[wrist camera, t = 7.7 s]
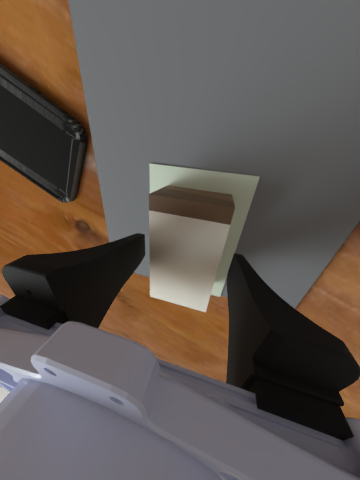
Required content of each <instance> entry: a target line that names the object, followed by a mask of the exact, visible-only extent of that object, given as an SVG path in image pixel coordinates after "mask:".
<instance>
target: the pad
mask: <svg viewBox="0 0 360 480" xmlns="http://www.w3.org/2000/svg"><path fill="white" fill-rule="evenodd" d="M149 169H150V193H152V192H154V191H157V190H159V189H161V188H163V187H165V186H167V185H169V186H176V187H183V188H190V189H197V190H204V191H210V192H217V193H224V194H231V195H232V197H233V201H234V205H235V210H234V214H233V217H232V221H231V224H230V228H229V232H228V235H227V239H226V242H225V246H224V249H223V253H222V256H221V260H220V263H219V267H218V270H217V274H216V277H215V281H214V285H213V288H212V292H211V295H214V296H218V297H220V296H221V293H222V290H223V287H224V284H225V281H226V278H227V273H228V270H229V267H230V264H231V261H232V258H233V255H234V253H235V251H236V248H237V244H238V241H239V238H240V235H241V232H242V229H243V226H244V223H245V220H246V217H247V214H248V211H249V208H250V205H251V202H252V199H253V196H254V193H255V190H256V187H257V184H258V181H259V178H260V177H259V176H252V175H243V174H235V173H226V172H218V171H209V170H201V169H193V168H184V167H176V166H167V165H159V164H149Z"/></svg>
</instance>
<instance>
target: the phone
mask: <svg viewBox="0 0 360 480" xmlns="http://www.w3.org/2000/svg"><path fill="white" fill-rule="evenodd" d="M86 147H87V134H86V132H85V129H84V127H83V126H82V124H81V123H80V122H79V121H77V120H76V119H75V118H73V117H72V116H71V115H69V114H68V113H67V112H66V111H64V110H63V109H62V108H60V107H59V106H57V105H56V104H55V103H54V102H53V101H51V100H50V99H49V98H47V97H46V96H45V95H43V94H41V93H40V91H38V90H37V89H36V88H34V87H33V86H31V85H29V84H28V83H26V82H25V81H23V80H22V79H21V78H19V77H18V76H17V75H15V74H14V73H13V72H11V71H10V70H9V69H7V68H6V67H5V66H3V65H2V64H1V63H0V160H1V161H2V162H4V163H5V164H7V165H8V166H10V167H11V168H12V169H14V170H15V171H17V172H18V173H20V174H21V175H23V176H24V177H26V178H27V179H29V180H30V181H31V182H33V183H34V184H36V185H37V186H39V187H40V188H42V189H43V190H45V191H46V192H47V193H49V194H50V195H52V196H53V197H55V198H56V199H58V200H59V201H61V202H64V203H66V202H70V201H73V200H75V199H76V196H77V192H78V187H79V182H80V177H81V172H82V167H83V162H84V157H85V152H86Z"/></svg>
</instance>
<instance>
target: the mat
mask: <svg viewBox="0 0 360 480" xmlns="http://www.w3.org/2000/svg"><path fill="white" fill-rule="evenodd" d="M68 2H69V8H70V13H71V19H72V25H73V31H74V37H75V43H76V49H77V55H78V60H79V66H80V72H81V78H82V84H83V90H84V96H85V102H86V108H87V113H88V119H89V125H90V131H91V137H92V143H93V149H94V155H95V161H96V166H97V172H98V178H99V184H100V190H101V196H102V202H103V208H104V214H105V219H106V225H107V231H108V237H109V243H110V242H113V241H116V240H119V239H121V238H124V237H127V236H130V235H133V234H136V233H140V234H145V256H144V258H143V260H142V262H141V263H140V265H139V266H138V267H137V269H136V270H135V271H134V272H133V273H136V274H140V275H143V276H147V277H150V254H149V194H150V169H149V164H159V165H167V166H176V167H184V168H193V169H201V170H209V171H218V172H226V173H235V174H243V175H252V176H259V177H260V178H259V181H258V184H257V187H256V190H255V193H254V196H253V199H252V202H251V205H250V208H249V211H248V214H247V217H246V220H245V223H244V226H243V229H242V232H241V235H240V238H239V241H238V244H237V248H236V251H235V253H236V254H241V255H243V256H244V257H245V258H246V260H247V261H248V262H249V264H250V265H251V266H252V268H253V269H254V270H255V271H256V273H257V274H258V275H259V276H260V277H261V278H262V279H263V281H264V282H265V283H266V284H267V285H268V286H269V287H270V288H271V289H272V290H273V291H274V292H275V293H276V294H278V295H279V296H280V297H281V298H282V299H283V300H284V301H286V302H287V303H288V304H289V305H291V306H292V307H293V308H294V309H295V308H296V306H297V305H298V304H299V302H300V301H301V300H302V298H303V297H304V296H305V294H306V293H307V292H308V290H309V289H310V288H311V286H312V285H313V283H314V282H315V281H316V279H317V278H318V277H319V275H320V274H321V273H322V271H323V270H324V269H325V267H326V266H327V265H328V263H329V262H330V261H331V259H332V258H333V256H334V255H335V254H336V252H337V251H338V250H339V248H340V247H341V246H342V244H343V243H344V242H345V240H346V239H347V238H348V236H349V235H350V234H351V232H352V231H353V229H354V228H355V227H356V225H357V224H358V223H359V221H360V0H68ZM221 296H224V297H228V296H227V278H226V281H225V284H224V287H223V290H222V293H221Z"/></svg>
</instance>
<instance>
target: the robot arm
mask: <svg viewBox="0 0 360 480" xmlns="http://www.w3.org/2000/svg"><path fill="white" fill-rule="evenodd" d="M144 256H145V234H140V233H136V234H133V235H130V236H127V237H124V238H121V239H119V240H116V241H113V242H110V243H107V244H103V245H100V246H96V247H92V248H88V249H82V250H77V251H71V252H63V253H53V254H37V255H26V256H23V257H21V258H19V259H17V260H15V261H13V262H11V263H9V264H7V265H5V266H4V267H3V270H2V273H3V276H4V278H5V280H6V281H7V283H8V284H9V286H10V287H11V289H12V290H13V292H14V293H15V295H16V296H15V297H13V298H12V299H9V298H7V297H6V296H3V295H0V387H2V388H4V389H6V390H8V391H9V392H10V393H9V394H8V395H7V396H6V397H5V399H4V400H3V401H2V402H1V403H0V480H360V420H359V419H355V418H345V416H344V414H343V412H342V410H341V408H340V406H343V405H344V402H343V400H342V398H341V396H340V394H339V391H341V390H342V389H344V388H346V387H347V386H349V385H351V384H353V383H354V382H355V381H356V380H358V378H359V376H360V367H359V365H358V363H357V362H356V360H355V359H354V357H353V356H352V354H351V353H350V351H349V350H348V348H347V347H346V345H345V344H344V342H343V341H342V340H340V339H338V338H337V337H335V336H334V335H332V334H331V333H329V332H327V331H326V330H324V329H323V328H321V327H320V326H318V325H316V324H315V323H314V322H312V321H311V320H309V319H308V318H307V317H305V316H304V315H302V314H301V313H300V312H298V311H297V310H296V309H294V308H293V307H292V306H291V305H289V304H288V303H287V302H286V301H284V300H283V299H282V298H281V297H280V296H279V295H278V294H276V293H275V292H274V291H273V290H272V289H271V288H270V287H269V286H268V285H267V284H266V283H265V282H264V281H263V279H262V278H261V277H260V276H259V275H258V274H257V273H256V271H255V270H254V269H253V268H252V266H251V265H250V264H249V262H248V261H247V260H246V258H245V257H244V256H243V255H241V254H236V253H234V255H233V258H232V261H231V264H230V267H229V270H228V273H227V296H228V308H229V345H228V365H227V380H226V383H224V382H222V381H219V380H216V379H213V378H210V377H208V376H205V375H202V374H199V373H197V372H194V371H191V370H188V369H185V368H183V367H180V366H177V365H174V364H171V363H169V362H166V361H163V360H160V359H158V358H156V356H155V354H153V353H152V352H151V351H150V350H149V349H148V348H147V347H145V346H143V345H141V344H139V343H137V342H135V341H132V340H129V339H126V338H123V337H120V336H118V335H115V334H112V333H109V332H106V331H103V330H100V329H98V327H99V325H100V323H101V322H102V320H103V318H104V316H105V314H106V313H107V311H108V309H109V307H110V306H111V304H112V302H113V301H114V299H115V297H116V296H117V294H118V293H119V291H120V289H121V288H122V287H123V285H124V284H125V283H126V281H127V280H128V279H129V277H130V276H131V275H132V274H133V272H134V271H135V270H136V269H137V267H138V266H139V265H140V263H141V262H142V260H143V258H144Z"/></svg>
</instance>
